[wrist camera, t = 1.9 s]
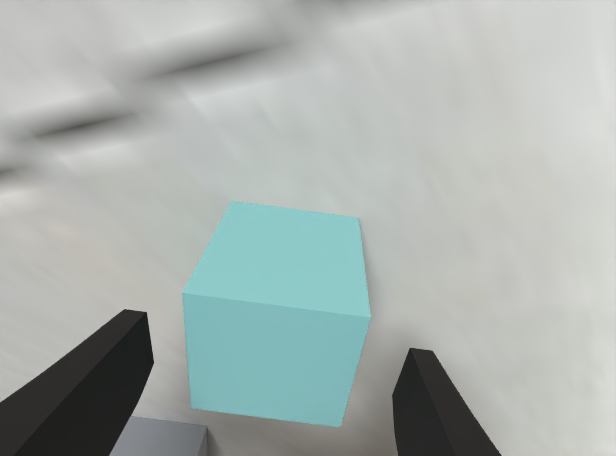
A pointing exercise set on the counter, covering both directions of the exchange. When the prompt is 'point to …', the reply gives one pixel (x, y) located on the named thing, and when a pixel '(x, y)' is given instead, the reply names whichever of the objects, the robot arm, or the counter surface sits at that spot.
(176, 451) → the tower base
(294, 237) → the teal block
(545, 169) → the counter surface
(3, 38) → the counter surface
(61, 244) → the counter surface
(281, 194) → the counter surface
